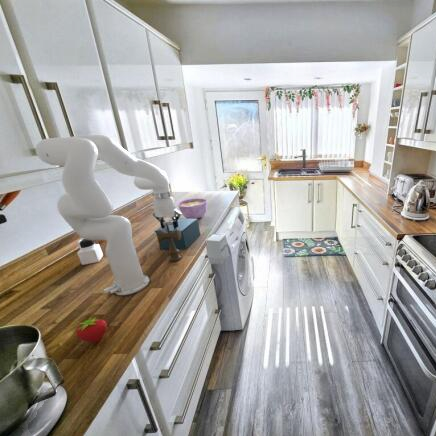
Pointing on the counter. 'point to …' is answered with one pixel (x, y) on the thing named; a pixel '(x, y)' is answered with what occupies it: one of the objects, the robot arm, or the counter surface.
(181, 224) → the dark teal box lid
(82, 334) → the strawberry
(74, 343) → the counter surface
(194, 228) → the teal rectangular box
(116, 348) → the counter surface
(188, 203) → the bowl of food
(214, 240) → the white packaging box
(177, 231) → the kendama
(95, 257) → the medicine bottle
